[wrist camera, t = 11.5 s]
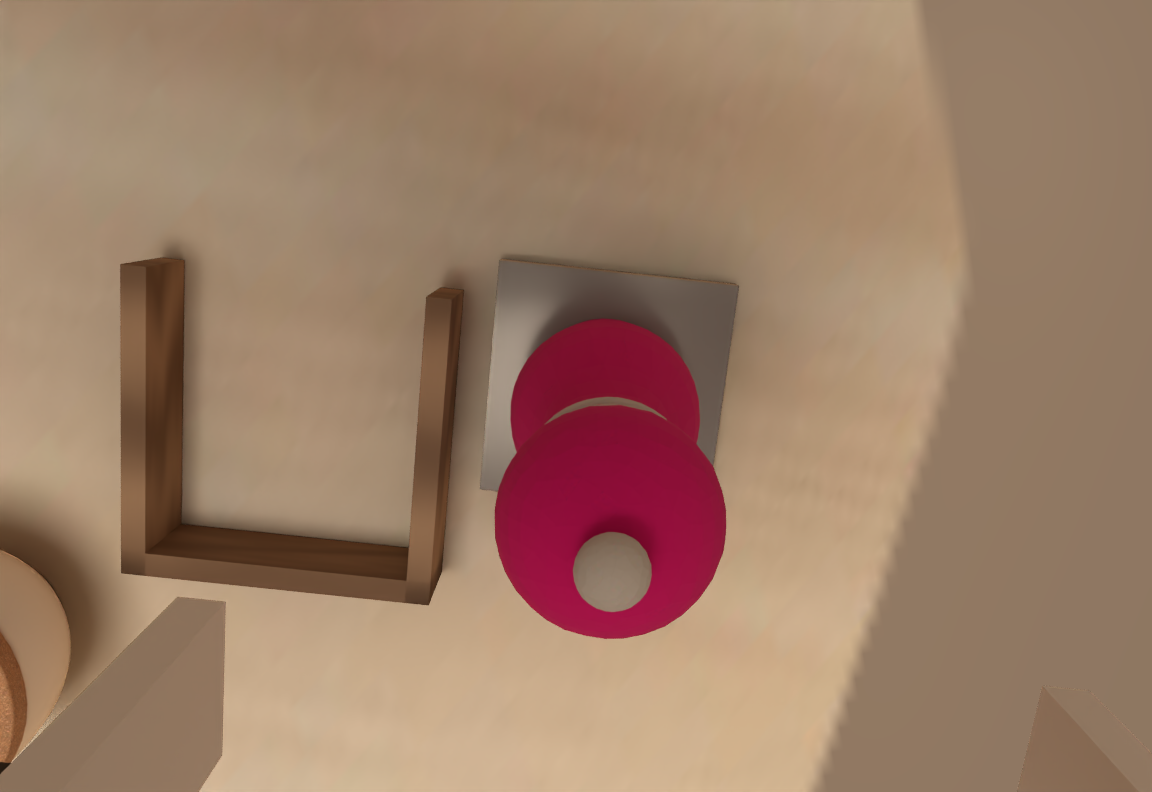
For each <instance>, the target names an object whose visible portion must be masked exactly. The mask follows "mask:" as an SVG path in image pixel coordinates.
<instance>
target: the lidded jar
mask: <svg viewBox="0 0 1152 792" xmlns="http://www.w3.org/2000/svg"><path fill="white" fill-rule="evenodd" d="M70 655H71V640H70V631H69V625H68V621H67V617H66V614H65V611H64V609H63V607H62V605H61V603H60V600H59V599H58V597H57V595H56V593H55V591H54V590H53V588H52V587H51V585H50V584H49V583H48V582H47V581H46V579H45V578H44V577H43V576H42V575H41V574H39V573H38V572H37V571H36V570H35V569H33V568H32V567H30V566H29V565H28V564H26V563H25V562H23V561H21V560H20V559H18V558H17V557H15V556H13V555H11V554H9V553H7V552H5V551H2V550H0V762H6V763H11V761H12V760H13V759H14V758H15V757H16V756H17V755H18V754H19V753H20V752H21V751H22V750H23V749H24V748H25V747H26V746H27V744H28V743H29V742H30V741H31V740H32V738H33V737H34V736H35V734H36V733H37V732H38V730H39V729H40V728H41V726H42V725H43V723H44V722H45V720H46V719H47V718H48V716H49V715H50V713H51V711H52V709H53V708H54V706H55V704H56V702H57V700H58V698H59V696H60V694H61V691H62V689H63V687H64V684H65V680H66V676H67V672H68V668H69V664H70Z"/></svg>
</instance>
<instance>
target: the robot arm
mask: <svg viewBox="0 0 1152 792" xmlns="http://www.w3.org/2000/svg"><path fill="white" fill-rule="evenodd" d="M225 606H226V602H223V601H213V600H203V599H194V598H184V597H177V598H176V599H175V600H174V601H173V602H172V603H171V604H170V605H169V606H168V607H167V608H166V609H165V610H164V611H163V612H162V613H161V614H160V615H159V616H158V617H157V618H156V619H155V620H154V621H153V622H152V623H151V624H150V625H149V626H148V627H147V628H146V629H145V630H144V631H143V632H142V633H141V634H140V635H139V636H138V637H137V638H136V639H135V640H134V641H133V642H132V643H131V644H130V645H129V646H128V647H127V648H126V649H125V650H124V651H123V652H122V653H121V654H120V655H119V656H118V657H117V658H116V659H115V660H114V661H113V662H112V663H111V664H110V665H109V666H108V667H107V668H106V669H105V670H104V671H103V672H102V673H101V674H100V675H99V676H98V677H97V678H96V679H95V680H94V681H93V682H92V683H91V684H90V685H89V686H88V687H87V688H86V689H85V690H84V691H83V692H82V693H81V694H80V695H79V696H78V697H77V698H76V699H75V700H74V701H73V702H72V703H71V704H70V705H69V706H68V707H67V708H66V709H65V710H64V711H63V712H62V713H61V714H60V715H59V716H58V717H57V718H56V719H55V720H54V721H53V722H52V723H51V724H50V725H49V726H48V727H47V728H46V729H45V730H44V731H43V732H42V733H41V734H40V735H39V736H38V737H37V738H36V739H35V740H34V741H33V742H32V743H31V744H30V745H29V746H28V747H27V748H26V749H25V750H24V751H23V752H22V753H21V754H20V755H19V756H18V757H17V758H16V759H15V760H14V761H13V762H12V763H6V762H0V792H199V790H200V789H201V787H202V786H203V784H204V783H205V781H206V779H207V778H208V776H209V775H210V773H211V772H212V770H213V769H214V767H215V765H216V764H217V762H218V761H219V759H220V758H221V756H222V740H223V695H224V651H225ZM1017 792H1152V753H1151V752H1150V751H1149V750H1148V749H1147V748H1146V747H1145V746H1144V745H1143V744H1142V743H1141V742H1140V741H1139V740H1138V739H1137V738H1136V737H1135V736H1134V735H1133V734H1132V733H1131V732H1130V731H1129V730H1128V729H1127V728H1126V727H1125V726H1124V725H1123V724H1122V723H1121V722H1120V721H1119V720H1118V719H1117V718H1116V717H1115V716H1114V714H1113V713H1112V712H1111V711H1109V709H1108V708H1107V707H1106V706H1105V705H1104V704H1103V703H1102V702H1101V701H1100V700H1098V698H1097V697H1096V696H1095V695H1094V694H1093V693H1092V692H1091V691H1089V690H1081V689H1070V688H1060V687H1051V686H1042V689H1041V693H1040V698H1039V702H1038V706H1037V710H1036V714H1035V718H1034V723H1033V727H1032V731H1031V736H1030V740H1029V743H1028V748H1027V752H1026V756H1025V761H1024V764H1023V768H1022V773H1021V777H1020V781H1019V785H1018V789H1017Z"/></svg>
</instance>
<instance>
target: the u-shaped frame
mask: <svg viewBox="0 0 1152 792" xmlns="http://www.w3.org/2000/svg"><path fill="white" fill-rule="evenodd" d="M120 293H121V573H124V574H133V575H143V576H152V577H162V578H172V579H181V580H191V581H200V582H210V583H220V584H229V585H239V586H248V587H258V588H268V589H277V590H287V591H296V592H306V593H315V594H325V595H335V596H344V597H354V598H363V599H373V600H383V601H392V602H402V603H411V604H421V605H429V603H430V601H431V598H432V595H433V593H434V590H435V588H436V585H437V583H438V580H439V577H440V575H441V572H442V562H443V549H444V536H445V523H446V511H447V498H448V485H449V472H450V460H451V447H452V434H453V421H454V409H455V396H456V383H457V370H458V358H459V345H460V332H461V319H462V307H463V294H464V290H459V289H450V288H439V289H438V290H436V291H434V292H433V293H431V294H430V295H428V296H427V297H426V309H425V324H424V338H423V352H422V367H421V381H420V395H419V410H418V424H417V439H416V453H415V467H414V482H413V496H412V510H411V525H410V539H409V548H405V547H395V546H386V545H376V544H367V543H357V542H348V541H338V540H328V539H319V538H309V537H300V536H290V535H281V534H271V533H262V532H252V531H242V530H233V529H223V528H214V527H204V526H195V525H185V524H181V497H182V415H183V332H184V260H178V259H169V258H156V259H150V260H143V261H137V262H131V263H124V264H120Z"/></svg>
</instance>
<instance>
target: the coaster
mask: <svg viewBox="0 0 1152 792" xmlns="http://www.w3.org/2000/svg"><path fill="white" fill-rule="evenodd" d="M738 290H739V286H738V285H737V284H734V283H724V282H715V281H706V280H696V279H687V278H678V277H668V276H659V275H650V274H640V273H631V272H622V271H612V270H603V269H594V268H584V267H575V266H566V265H556V264H547V263H538V262H528V261H519V260H510V259H501V260H499V271H498V283H497V294H496V306H495V317H494V329H493V340H492V352H491V364H490V375H489V387H488V398H487V410H486V422H485V433H484V445H483V456H482V468H481V480H480V489H482V490H492V491H498V489H499V486H500V483H501V481H502V478H503V476H504V473H505V471H506V469H507V467H508V466H509V464H510V462H511V460H512V459H513V457H514V456H515V454H516V453H517V452H516V448H515V445H514V441H513V438H512V430H511V421H510V416H511V399H512V394H513V389H514V386H515V383H516V380H517V378H518V375H519V373H520V371H521V369H522V368H523V366H524V364H525V363H526V361H527V359H528V358H529V357H530V356H531V355H532V354H533V352H534V351H535V350H536V349H537V348H538V347H539V346H540V345H541V344H542V343H543V342H545V341H546V340H548V339H549V338H550V337H552V336H553V335H554V334H556V333H558V332H560V331H562V330H564V329H566V328H568V327H570V326H573V325H575V324H578V323H581V322H584V321H588V320H593V319H615V320H621V321H624V322H628V323H631V324H634V325H637V326H639V327H642V328H644V329H647V330H649V331H650V332H652V333H654V334H656V335H657V336H659V337H661V338H662V339H663V340H664V341H665V342H667V343H668V344H669V345H670V346H672V348H673V349H674V350H675V351H676V352H677V353H678V354H679V355H680V357H681V358H682V359H683V361H684V363H685V364H686V366H687V367H688V369H689V371H690V373H691V375H692V378H693V380H694V382H695V386H696V390H697V394H698V399H699V411H700V426H699V433H698V440H697V443H696V444H697V445H698V447H699V448H700V449H701V451H702V452H703V453H704V454H705V456H706V457H707V459H708V460H709V461H710V463H711V464H712V466H713V464H714V457H715V450H716V443H717V436H718V429H719V422H720V415H721V408H722V401H723V394H724V387H725V380H726V373H727V366H728V359H729V353H730V346H731V339H732V332H733V325H734V318H735V311H736V304H737V297H738Z"/></svg>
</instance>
